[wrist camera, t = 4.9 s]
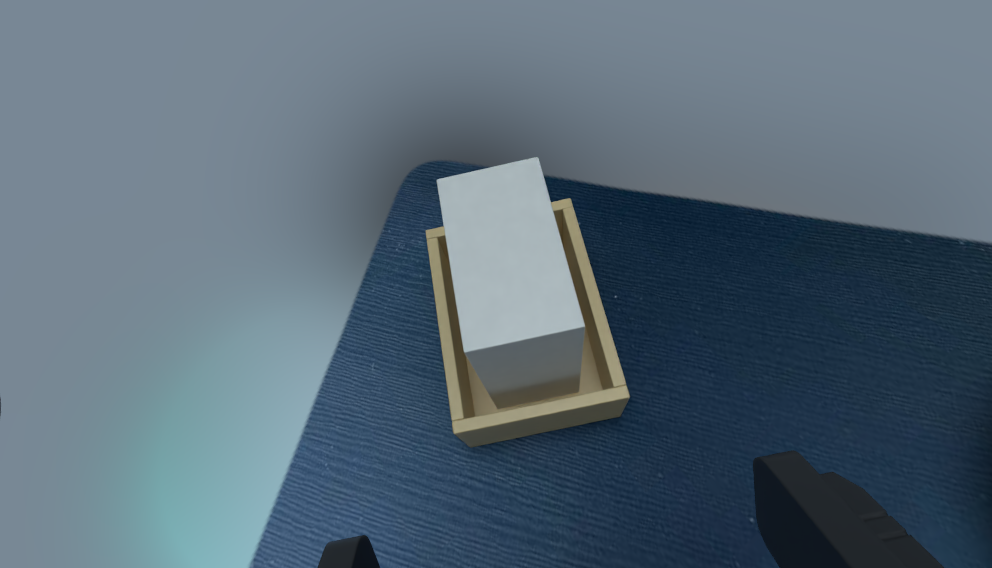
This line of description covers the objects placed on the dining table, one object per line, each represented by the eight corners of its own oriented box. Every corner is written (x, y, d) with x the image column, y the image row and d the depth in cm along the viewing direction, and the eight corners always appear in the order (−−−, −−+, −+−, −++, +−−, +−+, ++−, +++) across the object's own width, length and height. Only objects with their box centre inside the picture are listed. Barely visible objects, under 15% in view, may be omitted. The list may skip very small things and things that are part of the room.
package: (580, 391, 27) (586, 326, 18) (496, 409, 27) (462, 353, 18) (547, 263, 31) (539, 156, 22) (473, 279, 31) (435, 179, 22)
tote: (620, 416, 27) (630, 397, 23) (470, 447, 27) (453, 434, 23) (569, 239, 32) (570, 197, 28) (443, 267, 32) (425, 230, 28)
